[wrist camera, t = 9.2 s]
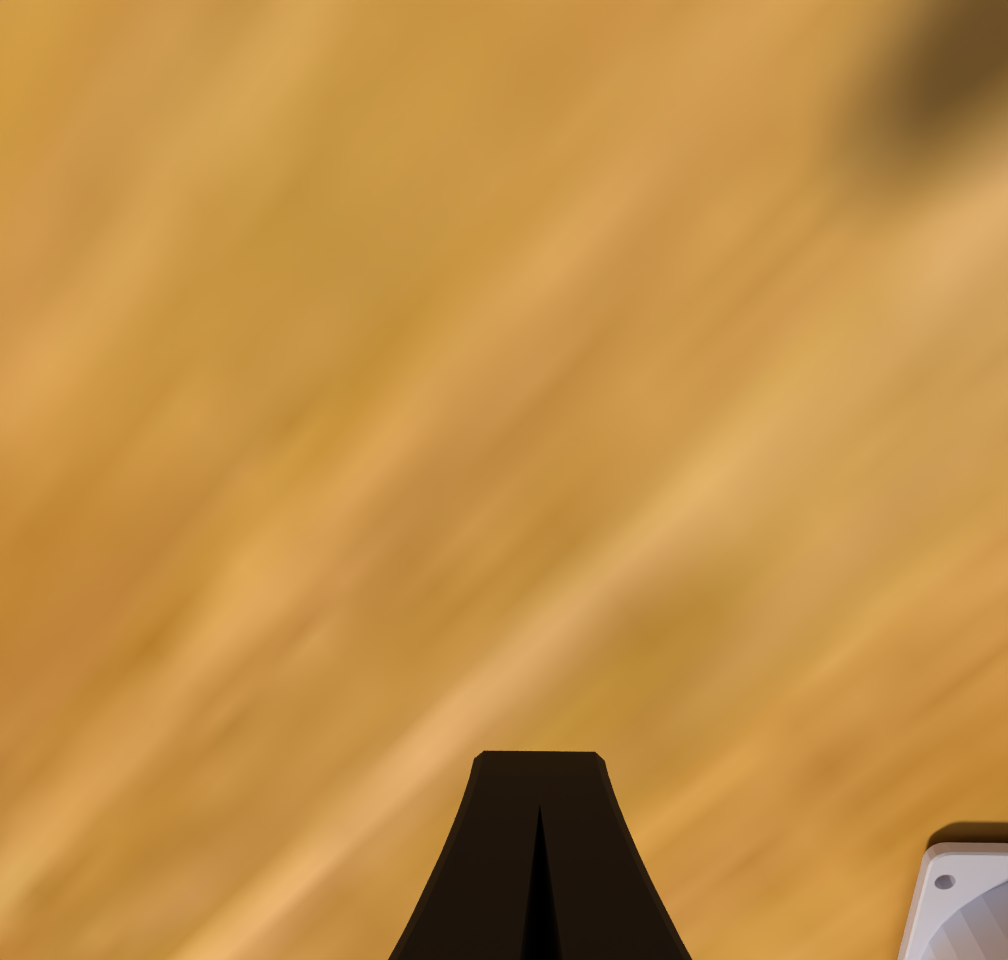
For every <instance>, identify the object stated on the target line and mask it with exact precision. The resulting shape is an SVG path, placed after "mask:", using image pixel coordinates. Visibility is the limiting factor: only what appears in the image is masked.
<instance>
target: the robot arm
mask: <svg viewBox="0 0 1008 960" xmlns="http://www.w3.org/2000/svg"><path fill="white" fill-rule="evenodd" d="M941 875H942V876H941ZM388 960H692V958H691V957H690V955H689V953H688V951H687V949H686V947H685V946H684V944H683V942H682V940H681V938H680V936H679V934H678V932H677V930H676V928H675V926H674V924H673V922H672V920H671V918H670V917H669V915H668V913H667V911H666V909H665V907H664V905H663V903H662V901H661V899H660V897H659V895H658V893H657V891H656V889H655V887H654V885H653V883H652V881H651V879H650V877H649V875H648V872H647V870H646V868H645V866H644V864H643V862H642V860H641V857H640V855H639V853H638V851H637V848H636V846H635V844H634V841H633V839H632V837H631V834H630V832H629V830H628V827H627V825H626V823H625V820H624V818H623V815H622V812H621V810H620V807H619V805H618V802H617V799H616V797H615V794H614V791H613V788H612V785H611V782H610V779H609V776H608V772H607V768H606V764H605V761H604V760H603V759H602V758H601V757H600V756H599V755H598V754H597V753H596V752H561V751H483V752H482V753H481V754H479V755H478V756H477V757H476V758H474V761H473V765H472V769H471V774H470V777H469V781H468V784H467V787H466V790H465V793H464V796H463V799H462V802H461V805H460V807H459V810H458V813H457V815H456V818H455V821H454V823H453V825H452V828H451V830H450V833H449V835H448V837H447V840H446V842H445V845H444V847H443V850H442V852H441V854H440V857H439V859H438V861H437V863H436V865H435V867H434V869H433V871H432V873H431V876H430V878H429V880H428V882H427V884H426V886H425V888H424V890H423V893H422V895H421V897H420V899H419V901H418V903H417V905H416V907H415V910H414V912H413V914H412V916H411V918H410V920H409V922H408V924H407V926H406V928H405V930H404V932H403V934H402V935H401V937H400V939H399V941H398V943H397V945H396V946H395V948H394V950H393V952H392V954H391V955H390V957H389V959H388ZM897 960H1008V843H959V842H944V843H938V844H935V845H933V846H931V847H930V848H929V849H927V850H926V852H925V854H924V856H923V859H922V863H921V867H920V871H919V875H918V879H917V883H916V887H915V891H914V895H913V899H912V903H911V907H910V911H909V915H908V919H907V923H906V927H905V931H904V935H903V939H902V943H901V947H900V951H899V955H898V959H897Z"/></svg>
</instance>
